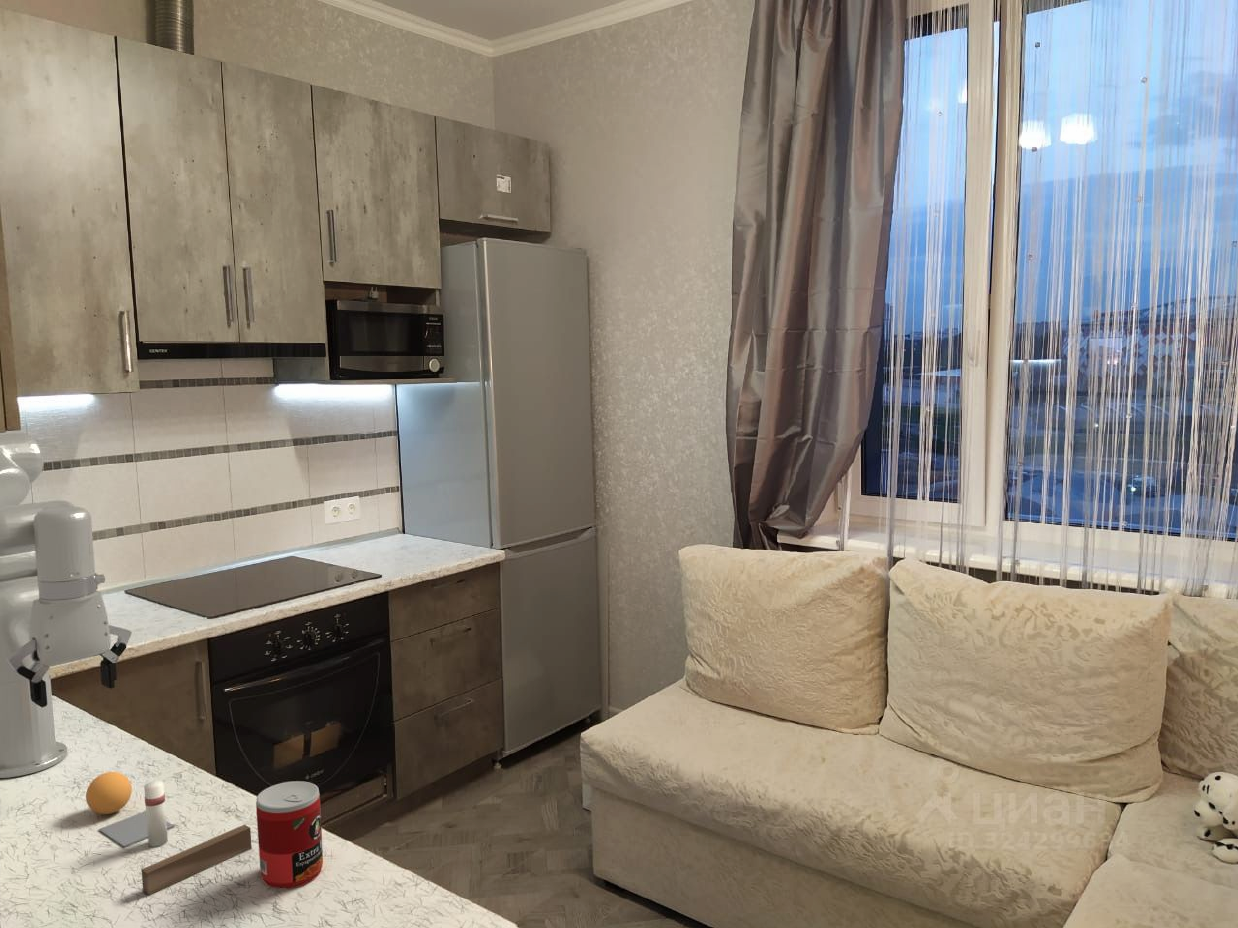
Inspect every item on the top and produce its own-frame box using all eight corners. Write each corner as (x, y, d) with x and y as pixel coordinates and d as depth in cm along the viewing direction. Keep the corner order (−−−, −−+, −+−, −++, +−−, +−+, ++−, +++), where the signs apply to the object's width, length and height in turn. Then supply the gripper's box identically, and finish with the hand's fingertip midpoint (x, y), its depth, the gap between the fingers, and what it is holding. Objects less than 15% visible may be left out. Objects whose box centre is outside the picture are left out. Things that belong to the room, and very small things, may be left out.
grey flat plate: (99, 830, 131) (98, 828, 131) (148, 811, 136) (148, 809, 136) (124, 847, 126) (124, 845, 126) (174, 826, 131) (174, 825, 131)
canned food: (304, 892, 114) (299, 810, 113) (247, 886, 116) (242, 805, 115) (334, 860, 122) (330, 782, 120) (281, 854, 123) (277, 778, 122)
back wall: (143, 891, 115) (141, 869, 115) (245, 844, 126) (244, 824, 126) (148, 895, 114) (147, 873, 114) (251, 848, 125) (250, 827, 125)
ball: (80, 813, 136) (77, 775, 135) (122, 798, 140) (119, 761, 140) (98, 825, 132) (95, 786, 131) (140, 809, 137) (137, 771, 136)
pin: (145, 843, 127) (140, 785, 126) (162, 835, 129) (158, 779, 128) (153, 848, 125) (149, 790, 124) (171, 841, 127) (167, 783, 126)
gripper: (115, 573, 147) (122, 674, 149) (-7, 595, 133) (2, 706, 135) (137, 580, 142) (143, 684, 145) (12, 604, 129) (21, 718, 131)
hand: (75, 695), depth 140 cm, fingers open, 9 cm apart
